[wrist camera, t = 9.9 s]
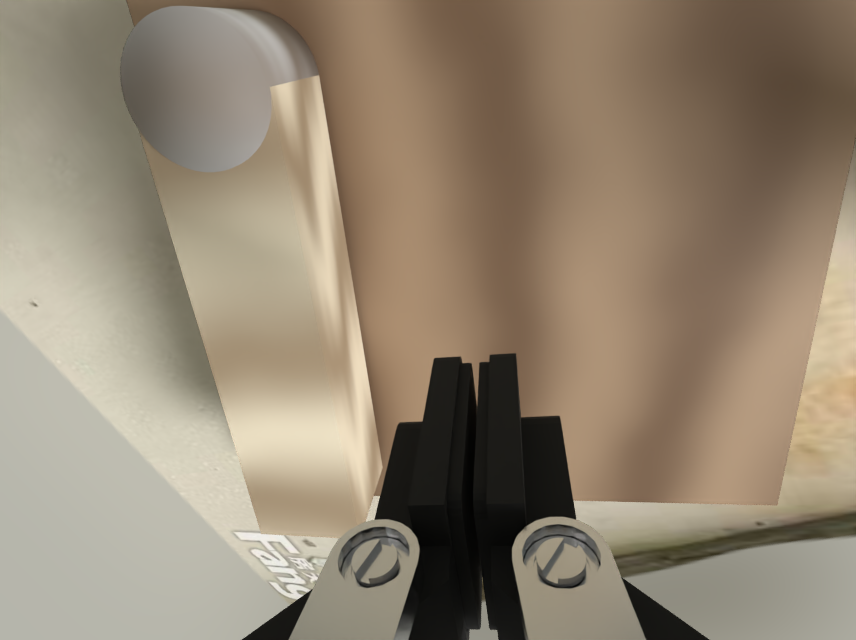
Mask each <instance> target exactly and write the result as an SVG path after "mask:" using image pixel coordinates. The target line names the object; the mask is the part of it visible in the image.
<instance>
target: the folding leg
mask: <svg viewBox="0 0 856 640" xmlns="http://www.w3.org/2000/svg"><path fill="white" fill-rule="evenodd" d="M120 75H121V86H122V91H123V95H124V99H125V103H126V105H127V108H128V111H129V113H130V115H131V117H132V119H133V121H134V123H135V124H136V126H137V128H138V130H139V133H140V136H141V140H142V143H143V146H144V149H145V153H146V156H147V159H148V163H149V166H150V169H151V172H152V176H153V179H154V182H155V186H156V189H157V192H158V196H159V199H160V202H161V205H162V209H163V212H164V215H165V219H166V222H167V225H168V228H169V232H170V235H171V238H172V242H173V245H174V248H175V251H176V255H177V258H178V261H179V265H180V268H181V271H182V274H183V278H184V281H185V284H186V288H187V291H188V294H189V298H190V301H191V304H192V307H193V311H194V314H195V317H196V321H197V324H198V327H199V330H200V334H201V337H202V340H203V344H204V347H205V350H206V353H207V357H208V360H209V363H210V367H211V370H212V373H213V376H214V380H215V383H216V386H217V390H218V393H219V396H220V400H221V403H222V406H223V409H224V413H225V416H226V419H227V423H228V426H229V429H230V432H231V436H232V439H233V442H234V446H235V449H236V452H237V455H238V459H239V462H240V465H241V469H242V472H243V475H244V478H245V482H246V485H247V488H248V492H249V495H250V498H251V502H252V505H253V508H254V511H255V515H256V518H257V521H258V525H259V528H260V531H261V534H273V535H292V536H311V537H330V538H340V537H342V536H343V535H344V534H345V533H346V532H347V531H348V530H350V529H352V528H354V527H355V526H357V525H359V524H361V523H364V522H365V521H366V518H367V515H368V512H369V509H370V506H371V502H372V499H373V496H374V493H375V490H376V487H377V484H378V480H379V477H380V474H381V471H382V468H383V467H382V460H381V454H380V448H379V442H378V436H377V430H376V423H375V417H374V411H373V405H372V399H371V392H370V386H369V380H368V374H367V368H366V362H365V355H364V349H363V343H362V337H361V331H360V325H359V318H358V312H357V306H356V300H355V294H354V288H353V281H352V275H351V269H350V263H349V257H348V251H347V244H346V238H345V232H344V226H343V220H342V213H341V207H340V201H339V195H338V189H337V183H336V176H335V170H334V164H333V158H332V152H331V146H330V139H329V133H328V127H327V121H326V115H325V109H324V102H323V96H322V90H321V84H320V78H319V72H318V68H317V64H316V61H315V59H314V56H313V54H312V52H311V50H310V48H309V46H308V45H307V43H306V41H305V40H304V39H303V37H302V36H301V35H300V34H299V33H298V32H297V31H296V30H295V29H294V28H293V27H292V26H291V25H290V24H288V23H287V22H286V21H284V20H283V19H281V18H279V17H277V16H275V15H273V14H271V13H267V12H264V11H257V10H244V9H227V8H210V7H193V6H170V7H165V8H161V9H159V10H156V11H154V12H152V13H150V14H149V15H147V16H145V17H144V18H143V19H142V20H141V21H140V22H138V24H137V25H136V26H135V27H134V28H133V30H132V31H131V33H130V35H129V37H128V38H127V41H126V43H125V46H124V49H123V53H122V57H121V67H120Z"/></svg>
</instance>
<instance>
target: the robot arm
mask: <svg viewBox="0 0 856 640" xmlns="http://www.w3.org/2000/svg"><path fill="white" fill-rule="evenodd" d="M482 577H483V584H484V592H485V599H486V606H487V614H488V621H489V628H490V630H497V631H498V639H499V640H709V639H708V638H706V637H705V636H703V635H701V633H699V632H698V631H696V630H695V629H693V628H692V627H690V626H689V625H688V624H686V623H685V622H684V621H682V620H681V619H679V618H678V617H676V616H675V615H674V614H672V613H671V612H670V611H668V610H667V609H665V608H664V607H663V606H661V605H660V604H658V603H657V602H656V601H654V600H653V599H651V598H650V597H648V596H647V595H646V594H644V593H643V592H641V591H640V590H639V589H637V588H636V587H634V586H633V585H632V584H630V583H629V582H627V581H626V580H625V579H623V578H622V577H621V576H620V573H619V570H618V568H617V565H616V563H615V560H614V558H613V555H612V553H611V550H610V548H609V546H608V545H607V543H606V541H605V540H604V538H603V536H601V535H600V534H599V533H598V532H597V531H596V530H595V529H594V528H592V527H591V526H589V525H587V524H585V523H583V522H581V521H579V520H576V515H575V508H574V502H573V496H572V489H571V483H570V476H569V470H568V463H567V457H566V450H565V444H564V438H563V431H562V425H561V419H560V416H539V417H521V410H520V396H519V383H518V370H517V356H516V353H508V354H491V355H489V362H480V363H479V380H478V401H477V402H476V393H475V385H474V376H473V368H472V363H462V359H461V356H458V357H441V358H434V360H433V365H432V371H431V377H430V382H429V388H428V393H427V399H426V405H425V410H424V416H423V421H419V422H400V423H399V424H398V425H397V428H396V432H395V436H394V440H393V444H392V449H391V453H390V457H389V461H388V466H387V470H386V474H385V478H384V482H383V487H382V491H381V495H380V499H379V503H378V508H377V512H376V516H375V520H372V521H368V522H364V523H361V524H359V525H357V526H355V527H354V528H352V529H350V530H348V531H347V532H346V533H345V534H344V535H343V536H342V537H340V538H339V539H338V541H337V542H336V544H335V545H334V547H333V548H332V550H331V552H330V554H329V556H328V558H327V560H326V562H325V565H324V567H323V569H322V571H321V573H320V575H319V577H318V579H317V581H316V583H315V586H314V588H313V589H312V590H311V591H309V592H308V593H306V594H305V595H304V596H302V597H301V598H299V599H298V600H297V601H295V602H294V603H292V604H291V605H290V606H288V607H287V608H285V609H284V610H283V611H281V612H280V613H279V614H277V615H276V616H274V617H273V618H272V619H270V620H269V621H267V622H266V623H265V624H263V625H262V626H260V627H259V628H258V629H256V630H255V631H253V632H252V633H251V634H249V635H248V636H247V637H245V638H244V639H242V640H469V629H480V627H481V599H482Z"/></svg>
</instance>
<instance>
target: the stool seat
mask: <svg viewBox="0 0 856 640" xmlns="http://www.w3.org/2000/svg"><path fill="white" fill-rule="evenodd" d="M126 1H127V4H128V7H129V11H130V14H131V17H132V21H133V24H134V27H135V26H136V25H137V24H138V22H140V21H141V20H142V19H143V18H144V17H145V16H147V15H149V14H150V13H152V12H154V11H156V10H159V9H161V8H165V7H170V6H193V7H210V8H227V9H244V10H257V11H264V12H267V13H271V14H273V15H275V16H277V17H279V18H281V19H283V20H284V21H286V22H287V23H288V24H290V25H291V26H292V27H293V28H294V29H295V30H296V31H297V32H298V33H299V34H300V35H301V36H302V37H303V39H304V40H305V41H306V43H307V45H308V46H309V48H310V50H311V52H312V54H313V56H314V59H315V61H316V64H317V68H318V72H319V78H320V84H321V90H322V96H323V102H324V109H325V115H326V121H327V127H328V133H329V139H330V146H331V152H332V158H333V164H334V170H335V176H336V183H337V189H338V195H339V201H340V207H341V213H342V220H343V226H344V232H345V238H346V244H347V251H348V257H349V263H350V269H351V275H352V281H353V288H354V294H355V300H356V306H357V312H358V318H359V325H360V331H361V337H362V343H363V349H364V355H365V362H366V368H367V374H368V380H369V386H370V392H371V399H372V405H373V411H374V417H375V423H376V430H377V436H378V442H379V448H380V454H381V460H382V467H383V468H382V471H381V474H380V477H379V480H378V484H377V487H376V490H375V493H374V496H380V495H381V491H382V487H383V482H384V478H385V474H386V470H387V466H388V461H389V457H390V453H391V449H392V444H393V440H394V436H395V432H396V428H397V425H398V424H399V423H400V422H419V421H423V416H424V410H425V405H426V399H427V393H428V388H429V382H430V377H431V371H432V365H433V360H434V358H441V357H458V356H461V359H462V363H472V368H473V376H474V385H475V393H476V402H477V401H478V380H479V363H480V362H489V355H491V354H508V353H516V356H517V370H518V383H519V396H520V410H521V417H539V416H560V419H561V425H562V431H563V438H564V444H565V450H566V457H567V463H568V470H569V476H570V483H571V489H572V496H573V500H575V501H616V502H658V503H699V504H741V505H777V504H778V499H779V495H780V490H781V485H782V480H783V476H784V471H785V466H786V462H787V457H788V452H789V448H790V443H791V438H792V434H793V429H794V424H795V420H796V415H797V410H798V406H799V401H800V396H801V392H802V387H803V382H804V378H805V373H806V368H807V364H808V359H809V354H810V350H811V345H812V340H813V335H814V331H815V326H816V321H817V317H818V312H819V307H820V303H821V298H822V293H823V289H824V284H825V279H826V275H827V270H828V265H829V261H830V256H831V251H832V247H833V242H834V237H835V233H836V228H837V223H838V219H839V214H840V209H841V205H842V200H843V195H844V191H845V186H846V181H847V176H848V172H849V167H850V162H851V158H852V153H853V148H854V144H855V139H856V0H126Z"/></svg>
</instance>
